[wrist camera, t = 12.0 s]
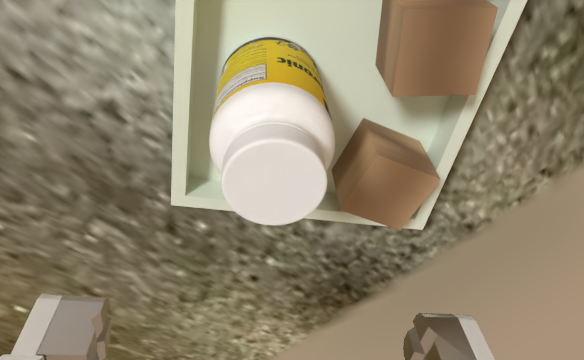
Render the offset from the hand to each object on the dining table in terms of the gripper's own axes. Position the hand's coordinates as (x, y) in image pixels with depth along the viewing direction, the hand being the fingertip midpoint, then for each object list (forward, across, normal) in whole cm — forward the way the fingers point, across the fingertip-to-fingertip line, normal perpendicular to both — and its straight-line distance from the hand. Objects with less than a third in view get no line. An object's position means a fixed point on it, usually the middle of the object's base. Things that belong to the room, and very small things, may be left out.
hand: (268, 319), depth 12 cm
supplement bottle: (+16, -1, 0) cm, 16 cm away
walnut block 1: (+15, -8, -4) cm, 18 cm away
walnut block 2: (+15, -8, +4) cm, 18 cm away
